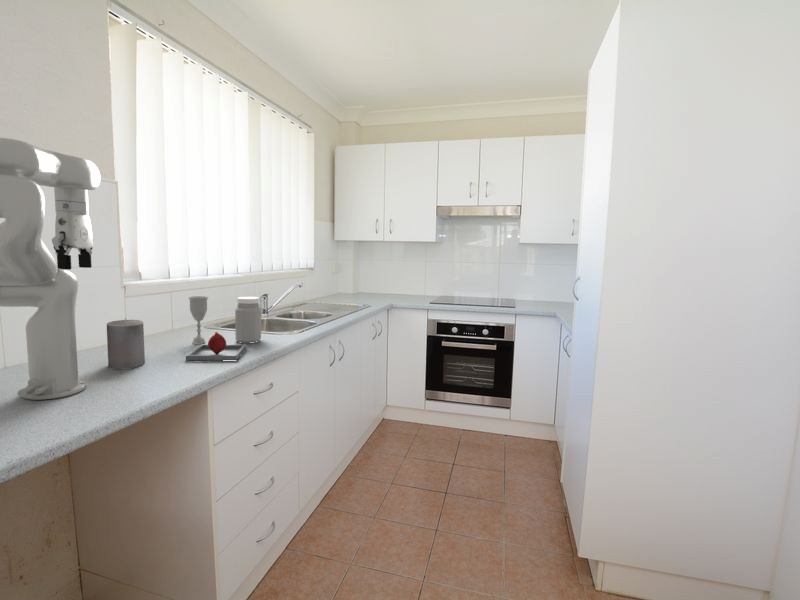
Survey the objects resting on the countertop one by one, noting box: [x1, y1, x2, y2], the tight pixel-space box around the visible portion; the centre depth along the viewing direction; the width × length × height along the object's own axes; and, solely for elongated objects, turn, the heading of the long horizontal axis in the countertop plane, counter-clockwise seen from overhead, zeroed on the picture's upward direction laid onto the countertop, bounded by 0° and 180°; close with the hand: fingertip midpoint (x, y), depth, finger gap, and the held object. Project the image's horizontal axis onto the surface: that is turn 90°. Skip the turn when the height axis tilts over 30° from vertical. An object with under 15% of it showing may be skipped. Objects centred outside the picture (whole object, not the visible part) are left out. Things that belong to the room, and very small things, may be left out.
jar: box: [234, 295, 262, 344], centre depth 167 cm, size 10×10×18 cm
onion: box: [207, 331, 227, 354], centre depth 144 cm, size 6×6×8 cm
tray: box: [185, 343, 247, 362], centre depth 145 cm, size 16×16×2 cm
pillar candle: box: [106, 317, 146, 370], centre depth 129 cm, size 10×10×15 cm
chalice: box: [188, 295, 209, 345], centre depth 161 cm, size 7×7×18 cm
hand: (75, 268), depth 120 cm, fingers open, 9 cm apart
